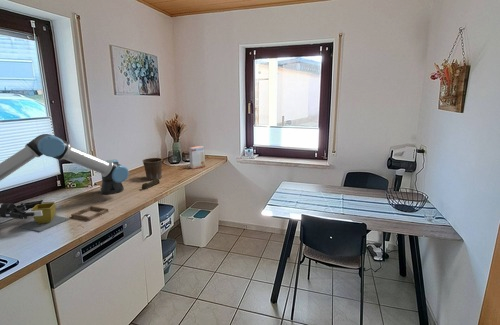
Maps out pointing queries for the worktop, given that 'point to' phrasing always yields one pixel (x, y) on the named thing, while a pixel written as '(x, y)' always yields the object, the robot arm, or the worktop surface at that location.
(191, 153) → the cracker box
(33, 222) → the mat
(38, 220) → the flower pot
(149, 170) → the plant pot
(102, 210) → the square wooden frame
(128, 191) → the worktop surface
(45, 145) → the robot arm
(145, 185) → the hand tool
